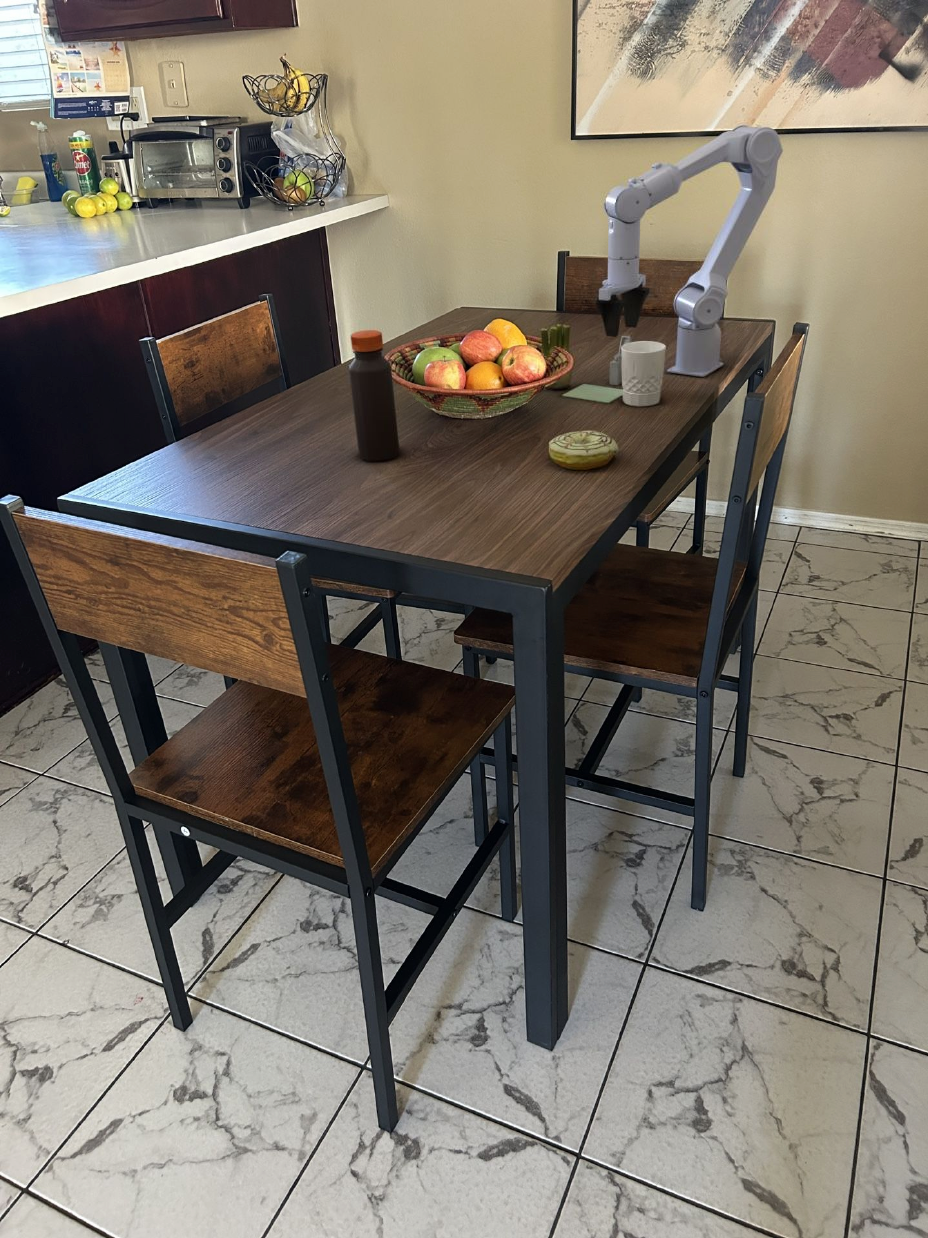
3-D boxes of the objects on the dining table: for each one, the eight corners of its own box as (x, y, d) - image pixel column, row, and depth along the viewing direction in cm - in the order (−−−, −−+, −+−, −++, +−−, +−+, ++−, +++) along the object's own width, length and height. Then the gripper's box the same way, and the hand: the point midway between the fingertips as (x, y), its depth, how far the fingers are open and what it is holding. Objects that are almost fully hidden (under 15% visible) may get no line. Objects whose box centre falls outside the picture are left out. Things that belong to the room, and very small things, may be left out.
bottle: (382, 445, 160) (369, 326, 150) (408, 453, 156) (396, 331, 145) (351, 456, 156) (335, 335, 146) (376, 465, 152) (362, 341, 141)
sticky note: (583, 384, 183) (583, 383, 183) (629, 391, 177) (629, 390, 177) (562, 395, 178) (562, 394, 177) (608, 403, 172) (608, 402, 172)
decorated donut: (629, 456, 148) (630, 434, 146) (589, 478, 142) (590, 454, 140) (577, 444, 155) (577, 422, 153) (536, 463, 148) (535, 440, 146)
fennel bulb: (540, 391, 181) (539, 328, 175) (543, 384, 185) (542, 322, 179) (570, 391, 180) (570, 328, 174) (572, 383, 184) (572, 321, 178)
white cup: (661, 393, 175) (664, 340, 170) (664, 407, 168) (667, 351, 163) (618, 395, 176) (620, 341, 171) (620, 408, 169) (622, 353, 164)
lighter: (617, 385, 181) (618, 343, 177) (609, 384, 182) (610, 342, 178) (630, 375, 187) (632, 334, 182) (622, 374, 187) (623, 334, 183)
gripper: (623, 249, 180) (621, 321, 187) (584, 262, 170) (584, 337, 177) (656, 250, 176) (653, 324, 183) (619, 264, 166) (617, 341, 173)
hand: (621, 331), depth 180 cm, fingers open, 7 cm apart
